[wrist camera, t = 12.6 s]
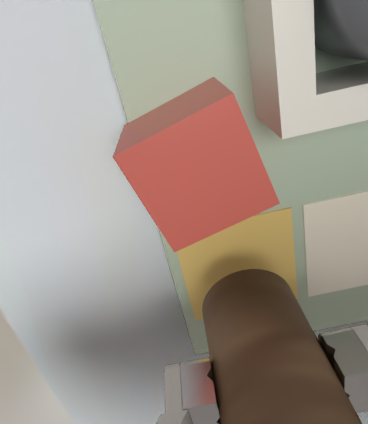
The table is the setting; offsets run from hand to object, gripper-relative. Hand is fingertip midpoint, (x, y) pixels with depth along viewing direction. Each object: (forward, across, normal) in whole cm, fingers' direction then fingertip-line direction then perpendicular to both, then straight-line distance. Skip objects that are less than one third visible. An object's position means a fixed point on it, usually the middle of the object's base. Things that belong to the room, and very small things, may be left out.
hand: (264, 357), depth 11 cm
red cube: (+5, +1, -6) cm, 8 cm away
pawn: (+2, 0, 0) cm, 3 cm away
